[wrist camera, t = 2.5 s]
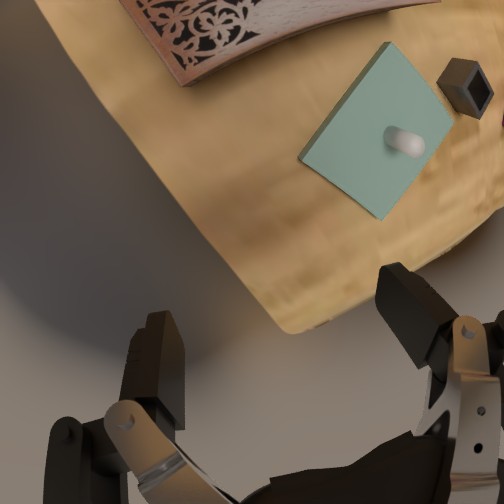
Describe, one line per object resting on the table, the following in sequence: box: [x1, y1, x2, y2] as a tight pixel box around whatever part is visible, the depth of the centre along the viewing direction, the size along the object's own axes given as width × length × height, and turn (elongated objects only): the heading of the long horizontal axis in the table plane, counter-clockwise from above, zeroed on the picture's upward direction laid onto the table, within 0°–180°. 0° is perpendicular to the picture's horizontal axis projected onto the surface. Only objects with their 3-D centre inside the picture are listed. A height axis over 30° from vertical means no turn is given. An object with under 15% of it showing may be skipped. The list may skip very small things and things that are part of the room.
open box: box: [437, 58, 494, 120], centre depth 23 cm, size 6×6×5 cm
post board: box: [298, 42, 454, 221], centre depth 26 cm, size 19×15×6 cm
